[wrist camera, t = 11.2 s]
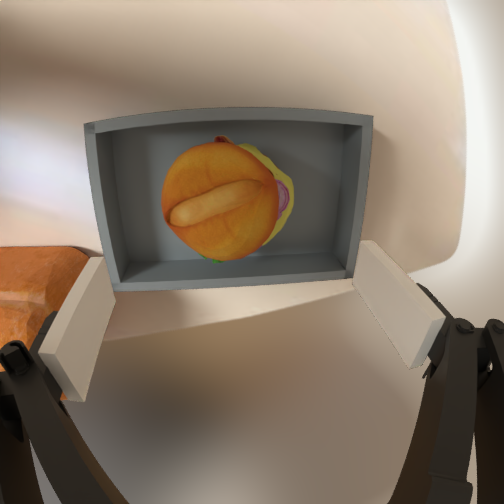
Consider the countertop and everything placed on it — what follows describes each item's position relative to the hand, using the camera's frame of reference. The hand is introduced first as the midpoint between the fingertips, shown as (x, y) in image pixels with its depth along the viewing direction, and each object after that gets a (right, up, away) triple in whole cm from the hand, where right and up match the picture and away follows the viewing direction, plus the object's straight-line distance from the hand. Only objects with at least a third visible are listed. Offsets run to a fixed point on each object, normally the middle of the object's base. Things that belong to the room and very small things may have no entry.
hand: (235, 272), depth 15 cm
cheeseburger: (-1, +7, +13) cm, 15 cm away
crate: (-1, +7, +14) cm, 16 cm away
